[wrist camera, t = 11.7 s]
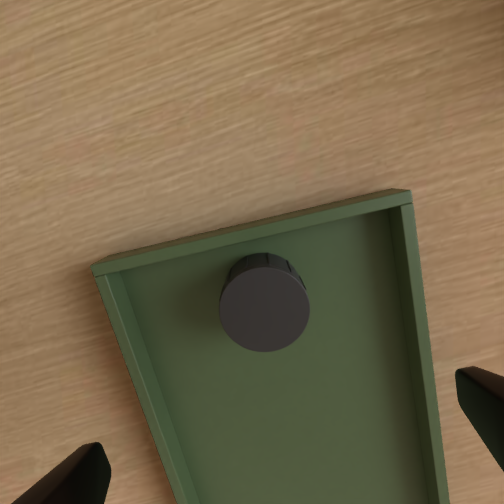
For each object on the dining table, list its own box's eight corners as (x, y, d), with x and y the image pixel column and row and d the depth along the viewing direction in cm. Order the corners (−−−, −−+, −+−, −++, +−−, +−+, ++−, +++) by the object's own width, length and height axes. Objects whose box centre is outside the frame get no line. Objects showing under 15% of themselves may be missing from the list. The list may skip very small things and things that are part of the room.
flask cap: (305, 319, 17) (314, 346, 14) (230, 329, 17) (226, 357, 15) (296, 247, 16) (305, 261, 14) (218, 258, 16) (211, 274, 14)
